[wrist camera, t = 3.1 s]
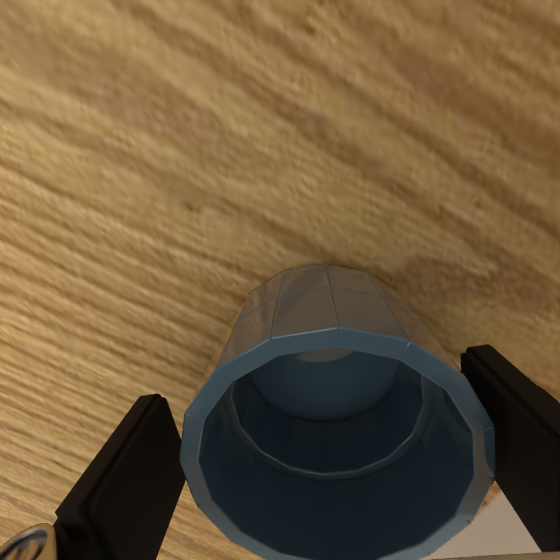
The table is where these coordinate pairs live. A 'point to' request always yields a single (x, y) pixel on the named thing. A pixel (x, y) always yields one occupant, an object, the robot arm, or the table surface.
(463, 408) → the small cup
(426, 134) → the table surface
